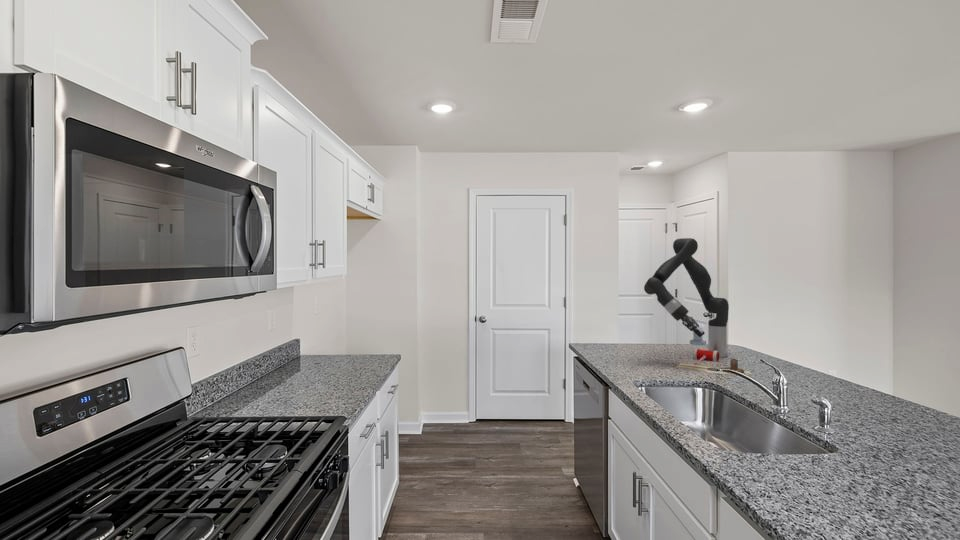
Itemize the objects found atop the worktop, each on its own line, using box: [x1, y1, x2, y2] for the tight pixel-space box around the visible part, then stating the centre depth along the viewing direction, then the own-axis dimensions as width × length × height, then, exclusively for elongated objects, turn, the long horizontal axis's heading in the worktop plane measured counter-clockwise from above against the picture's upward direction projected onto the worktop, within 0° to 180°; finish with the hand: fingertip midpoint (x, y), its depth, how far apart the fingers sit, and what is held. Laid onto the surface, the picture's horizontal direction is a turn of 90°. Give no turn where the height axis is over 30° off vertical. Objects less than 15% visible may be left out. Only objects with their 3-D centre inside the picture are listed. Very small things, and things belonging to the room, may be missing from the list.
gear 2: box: [723, 357, 745, 373], centre depth 208 cm, size 8×8×7 cm
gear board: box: [674, 362, 751, 377], centre depth 214 cm, size 13×31×1 cm, turn 54°
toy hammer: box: [692, 347, 720, 365], centre depth 233 cm, size 23×12×6 cm, turn 138°
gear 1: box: [689, 326, 707, 346], centre depth 218 cm, size 7×7×8 cm
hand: (702, 335), depth 216 cm, fingers closed on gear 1, 4 cm apart
